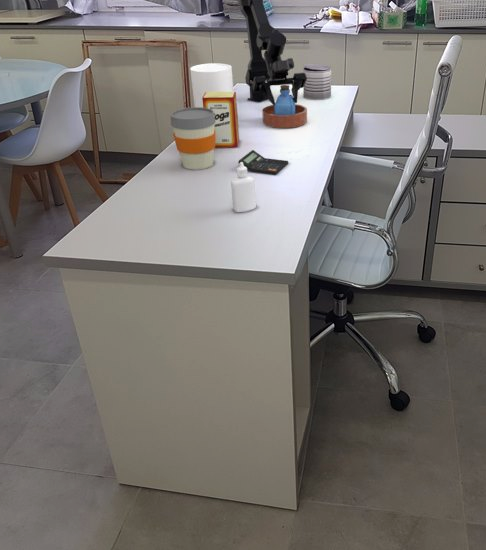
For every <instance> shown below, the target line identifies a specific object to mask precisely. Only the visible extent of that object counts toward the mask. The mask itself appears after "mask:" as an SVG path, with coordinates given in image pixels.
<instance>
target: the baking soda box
mask: <svg viewBox="0 0 486 550" xmlns="http://www.w3.org/2000/svg"><path fill="white" fill-rule="evenodd" d="M202 100H203V108H209V109H211V110H213V111H214V116H215V121H216V122H215V124H214V130H215V131H216V140H215V148H214V149H220V148H221V149H222V148H223V149H224V148H225V149H227V148H229V149H230V148H231V149H232V148H238V147H239V144H240V132H239V131H240V129H239V118H238V104H237V91H233V92H220V91H216V92H205V94H204V96H203V97H202Z"/></svg>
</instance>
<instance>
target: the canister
mask: <svg viewBox="0 0 486 550" xmlns="http://www.w3.org/2000/svg"><path fill="white" fill-rule="evenodd" d="M232 67H233V66H232V65H230V64H227V63H219V62H218V63H217V62H216V63H215V62H211V63H202V64H195V65H193V66H191V67H190V68H189V71H190V79H191V80H190V81H191V87H192V97H193V107H202V108H203V100H202V97H203V96H204V94H205V92H216V91H220V92H234V80H233V79H234V78H233V68H232Z"/></svg>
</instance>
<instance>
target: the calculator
mask: <svg viewBox="0 0 486 550" xmlns="http://www.w3.org/2000/svg"><path fill="white" fill-rule="evenodd" d="M240 162H243V164H244V166H245V167H247V171H250V172H251V173H257V174H265V175H272V176H276V175H278V174H279V173H280V172H281V171H282V170H284V168H285V167H286V166H287V165H289V161H288V160H284V159H276V158H269V157H268V158H266V157H264V156H263V155H261V154H259V153H258V152H257V151H255V150H253V149H252V150H250V151H249V152H248V153H247V154H246V155H244V156H243V157H241V158H240V159H239V160H238V162H237V163H238V164H239V165H240Z"/></svg>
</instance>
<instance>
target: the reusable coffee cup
mask: <svg viewBox="0 0 486 550" xmlns="http://www.w3.org/2000/svg"><path fill="white" fill-rule="evenodd" d="M215 122H216V121H215V116H214V111H213V110H211V109H209V108H202V107H195V106H193V107H184V108H180V109H176V110H174V111H172V112H171V113H170V126H171V127H172V130H173V140H174V142H175V143H174V144H175V146H176V150H177V151H178V153H179V156H180V159H181V163H182V166H183V168H186V169H187V170H203V169H208V168H210V167H213V165H214V161H215V160H214V159H215V158H214V157H215V155H214V153H215V149H216V148H215V140H216V131H215V130H214V124H215Z"/></svg>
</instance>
